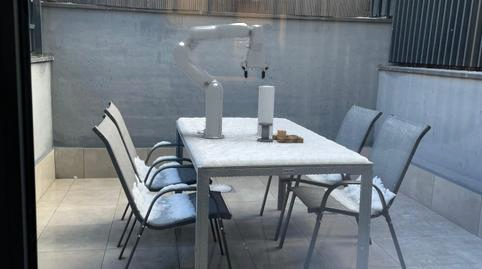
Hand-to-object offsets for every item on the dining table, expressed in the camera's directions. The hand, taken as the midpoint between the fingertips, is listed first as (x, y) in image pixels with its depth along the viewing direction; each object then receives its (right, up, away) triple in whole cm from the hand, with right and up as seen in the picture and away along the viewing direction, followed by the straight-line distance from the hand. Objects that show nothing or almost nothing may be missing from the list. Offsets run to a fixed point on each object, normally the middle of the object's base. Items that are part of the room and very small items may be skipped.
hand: (254, 78), depth 258 cm
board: (+18, -35, -1) cm, 40 cm away
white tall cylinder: (+7, -32, +20) cm, 38 cm away
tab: (+15, -35, -1) cm, 39 cm away
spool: (+6, -35, -3) cm, 36 cm away
